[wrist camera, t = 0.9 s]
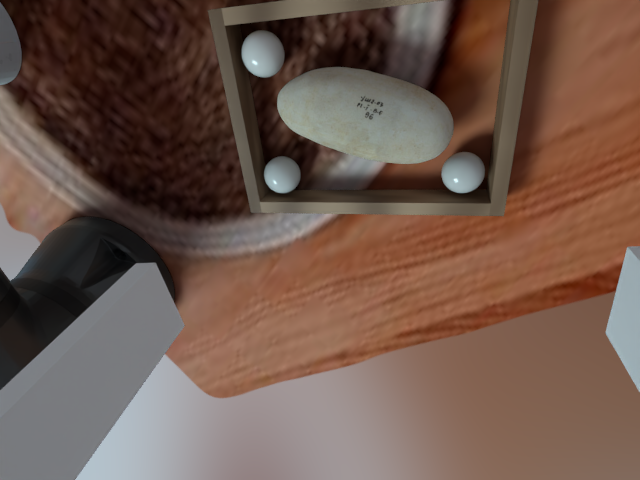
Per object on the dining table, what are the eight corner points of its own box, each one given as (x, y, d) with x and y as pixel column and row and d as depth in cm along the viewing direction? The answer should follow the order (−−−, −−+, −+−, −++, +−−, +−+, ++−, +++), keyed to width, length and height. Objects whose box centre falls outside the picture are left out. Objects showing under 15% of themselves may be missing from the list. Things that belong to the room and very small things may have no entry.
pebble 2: (439, 183, 31) (441, 199, 28) (441, 146, 29) (443, 160, 27) (479, 183, 30) (485, 200, 27) (484, 145, 28) (490, 159, 26)
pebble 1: (255, 75, 29) (239, 82, 27) (247, 31, 28) (230, 33, 25) (292, 72, 29) (280, 79, 26) (286, 26, 27) (272, 29, 25)
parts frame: (261, 200, 35) (251, 212, 33) (223, 9, 27) (207, 10, 25) (498, 201, 30) (503, 216, 28) (532, -30, 23) (543, -34, 21)
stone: (271, 54, 26) (452, 65, 21) (316, 76, 31) (467, 88, 26) (261, 142, 27) (428, 171, 22) (305, 147, 33) (448, 172, 28)
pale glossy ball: (274, 184, 34) (262, 199, 31) (268, 151, 32) (255, 164, 30) (306, 184, 33) (297, 199, 31) (302, 150, 32) (292, 163, 29)
